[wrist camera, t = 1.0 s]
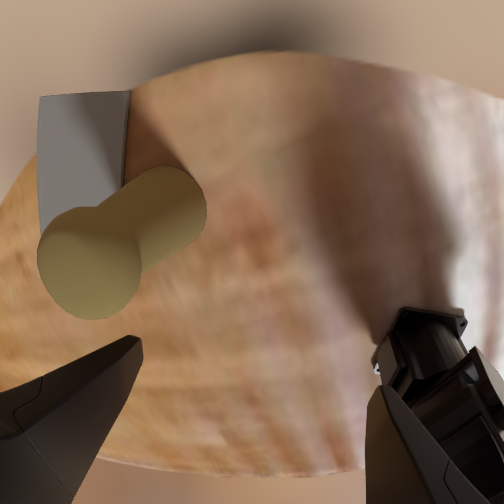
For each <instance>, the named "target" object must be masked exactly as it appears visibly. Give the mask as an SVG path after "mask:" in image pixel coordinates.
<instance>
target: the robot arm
mask: <svg viewBox="0 0 504 504" xmlns="http://www.w3.org/2000/svg"><path fill="white" fill-rule="evenodd" d="M404 313H407V314H406V315H403V314H404ZM461 322H463V323H462V324H460V323H461ZM467 323H468V321H467V320H466V318H465V317H463V316H458V315H451V314H445V313H439V312H433V311H427V310H421V309H416V308H410V307H403V308H401V309H400V310H399V312H398V314H397V316H396V319H395V321H394V323H393V326H392V328H391V330H390V331H389V332H387V334H386V336H385V338H384V341H383V343H382V345H381V347H380V349H379V351H378V353H377V356H376V358H377V360H376V362H375V364H374V366H373V370H374V373H375V374H380V376H381V381H382V385H379V386H378V387H377V388H376V390H375V391H374V393H373V395H372V397H371V399H370V400H369V403H368V406H367V421H366V438H365V469H366V504H504V381H503V379H502V377H501V376H500V374H499V373H498V371H497V370H496V369H495V368H494V367H493V365H492V364H491V363H490V362H489V361H488V360H487V359H486V357H485V356H484V355H483V354H482V353H481V352H480V351H479V349H478V348H477V347H476V346H474V347H473V348H472V349H471V350H470V351H469V353H468V352H467V350H466V348H465V346H464V344H463V342H462V341H461V339H460V337H461V335H462V334H463V332H464V330H465V328H466V326H467ZM142 362H143V348H142V340H141V338H139V337H136V336H133V335H127V336H125V337H123V338H121V339H119V340H117V341H114V342H112V343H110V344H108V345H106V346H104V347H102V348H100V349H98V350H96V351H94V352H92V353H90V354H87V355H85V356H83V357H81V358H79V359H77V360H75V361H73V362H71V363H68V364H66V365H64V366H62V367H60V368H58V369H56V370H54V371H51V372H49V373H47V374H45V375H44V376H41V377H38V378H36V379H34V380H32V381H30V382H27V383H25V384H23V385H20V386H17V387H15V388H12V389H9V390H6V391H3V392H0V504H71V503H72V501H73V499H74V497H75V495H76V493H77V491H78V489H79V487H80V485H81V484H82V482H83V480H84V478H85V476H86V474H87V472H88V470H89V468H90V467H91V465H92V463H93V461H94V459H95V457H96V455H97V454H98V452H99V450H100V448H101V446H102V444H103V442H104V441H105V439H106V437H107V435H108V433H109V432H110V430H111V428H112V426H113V424H114V423H115V421H116V419H117V417H118V415H119V414H120V412H121V410H122V408H123V406H124V405H125V403H126V401H127V399H128V396H129V394H130V392H131V389H132V387H133V384H134V382H135V379H136V377H137V375H138V372H139V370H140V367H141V365H142ZM378 368H379V369H378Z"/></svg>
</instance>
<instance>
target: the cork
mask: <svg viewBox="0 0 504 504" xmlns="http://www.w3.org/2000/svg"><path fill="white" fill-rule="evenodd" d="M206 218H207V209H206V201H205V198H204V195H203V192H202V189H201V188H200V187H199V185H198V184H197V183H196V181H195V180H194V178H192V177H191V176H190V175H188V174H187V173H186V172H184V171H183V170H181V169H178V168H175V167H172V166H156V167H154V168H151V169H148V170H146V171H144V172H143V173H142V174H140V175H139V176H137V177H136V178H134V179H133V180H131V181H130V182H129V183H127V184H126V185H124V186H123V187H122V188H120V189H119V190H118V191H116V192H115V193H113V194H112V195H111V196H109V197H108V198H107V199H105V200H104V201H103V202H101V203H100V204H99V205H98V206H96V207H89V206H84V207H75V208H73V209H70V210H68V211H66V212H64V213H62V214H60V215H58V216H56V217H55V218H54V219H53V220H52V221H51V222H50V224H49V225H48V226H47V227H46V229H45V230H44V231H43V233H42V236H41V239H40V242H39V245H38V249H37V265H38V269H39V273H40V277H41V279H42V281H43V283H44V286H45V288H46V290H47V291H48V293H49V294H50V295H51V297H52V298H53V299H54V301H55V302H56V303H57V304H58V305H59V306H60V307H62V308H63V309H64V310H65V311H66V312H68V313H70V314H71V315H73V316H75V317H77V318H81V319H85V320H98V319H105V318H108V317H110V316H112V315H114V314H115V313H117V312H118V311H120V310H121V309H123V308H124V307H125V306H126V305H127V304H128V303H129V301H130V300H131V298H132V297H133V295H134V293H135V292H136V290H137V288H138V285H139V283H140V278H141V275H142V274H144V273H146V272H147V271H149V270H150V269H152V268H153V267H155V266H156V265H158V264H159V263H161V262H162V261H164V260H165V259H167V258H168V257H170V256H171V255H173V254H175V253H176V252H178V251H179V250H181V249H182V248H184V247H185V246H187V245H188V244H190V243H191V242H193V241H194V240H196V239H197V237H198V236H199V234H200V233H201V232H202V230H203V228H204V225H205V221H206Z"/></svg>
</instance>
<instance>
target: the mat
mask: <svg viewBox="0 0 504 504" xmlns="http://www.w3.org/2000/svg"><path fill="white" fill-rule="evenodd" d="M130 93H131V91H112V92H89V93H74V94H62V95H52V96H43V97H40V101H39V112H38V129H37V191H38V208H39V221H40V231H41V236H42V233H43V231H44V230H45V229H46V227H47V226H48V225H49V224H50V222H51V221H52V220H53V219H54V218H55V217H56V216H58V215H60V214H62V213H64V212H66V211H68V210H70V209H73V208H75V207H84V206H89V207H96V206H98V205H99V204H100V203H101V202H103V201H104V200H105V199H107V198H108V197H109V196H111V195H112V194H113V193H115V192H116V191H118V190H119V189H120V188H122V187H123V181H124V160H125V144H126V131H127V120H128V110H129V101H130Z"/></svg>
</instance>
